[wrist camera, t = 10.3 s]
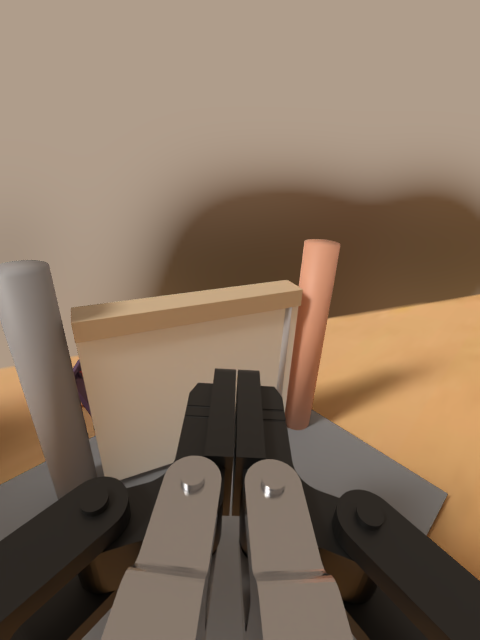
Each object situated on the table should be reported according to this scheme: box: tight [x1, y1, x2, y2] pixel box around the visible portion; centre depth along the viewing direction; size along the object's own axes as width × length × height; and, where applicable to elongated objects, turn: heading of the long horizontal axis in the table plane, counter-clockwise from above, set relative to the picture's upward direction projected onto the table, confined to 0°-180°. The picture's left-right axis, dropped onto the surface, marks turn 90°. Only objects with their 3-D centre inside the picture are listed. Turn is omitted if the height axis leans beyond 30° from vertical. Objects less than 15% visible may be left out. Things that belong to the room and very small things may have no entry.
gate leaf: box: [71, 280, 303, 480], centre depth 23 cm, size 14×2×13 cm, turn 115°
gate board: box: [0, 239, 448, 640], centre depth 20 cm, size 24×22×17 cm
